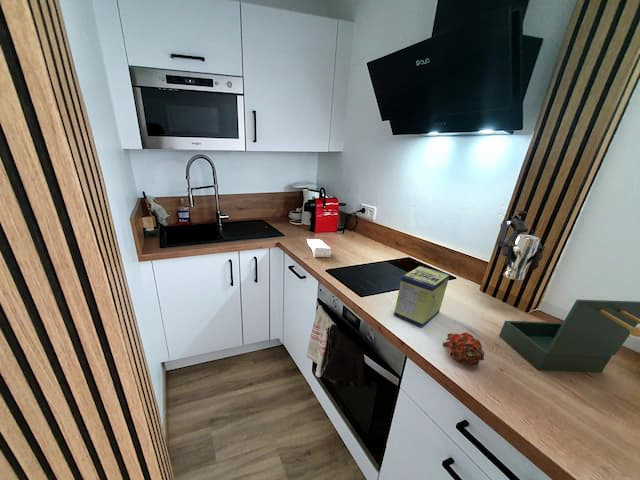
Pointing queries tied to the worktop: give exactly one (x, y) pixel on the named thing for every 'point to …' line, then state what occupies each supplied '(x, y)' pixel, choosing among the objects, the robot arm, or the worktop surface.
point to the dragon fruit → (465, 348)
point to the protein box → (421, 295)
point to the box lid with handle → (597, 327)
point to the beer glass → (521, 255)
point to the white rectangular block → (319, 248)
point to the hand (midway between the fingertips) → (521, 265)
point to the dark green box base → (535, 342)
